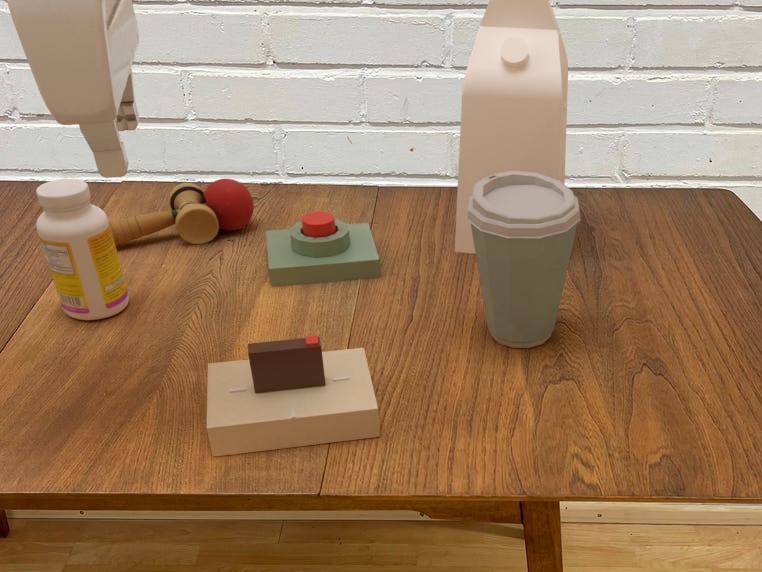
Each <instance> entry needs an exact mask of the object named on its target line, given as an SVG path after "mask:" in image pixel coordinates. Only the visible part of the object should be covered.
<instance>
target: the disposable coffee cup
mask: <svg viewBox="0 0 762 572" xmlns="http://www.w3.org/2000/svg"><path fill="white" fill-rule="evenodd" d="M466 220H468V221H469V222H470V223H471V229H472V235H473V241H474V247H475V253H474V254H475V258H476V265H477V271H478V277H479V283H480V289H481V295H482V302H483V308H484V313H485V319H486V326H487V331H489V332H490V336H491V338H492V339H493V340H495V341H496V342H497V343H498V344H499V345H503V346H507V347H508V348H512V349H530V348H533V347H538V346H540V345H543V344H545V343H546V342H547V341H548V340H549V339H550V338H551V337H552V333H553V332H555V328H556V324H557V320H558V319H557V318H558V314H559V309H560V305H561V300H562V296H563V291H564V287H565V282H566V277H567V272H568V268H569V264H570V259H571V256H572V255H571V254H572V250H573V246H574V241H575V237H576V232H577V228H578V223H579V222H580V221H581V213H580V205H579V198H578V197H577V196H576V195H574V191H573V190H571V188H569V187H568V186H567V185H566V184H565V183H564V184H563V183H561V182H560V181H559V180H556V179H553V178H550V177H547V176H544V175H541V174H538V173H533V172H521V171H507V172H502V173H498V174H493V175H490V176H488V177H485V178H484V179H482V180H481V181H479V182H477V183H476V184H474V189H473V195H472V196H470V197H469V203H468V208H467V217H466Z"/></svg>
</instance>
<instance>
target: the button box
mask: <svg viewBox="0 0 762 572" xmlns="http://www.w3.org/2000/svg"><path fill="white" fill-rule="evenodd" d="M335 229H336V233H335V234H333V235H330V236H327V237H319V238H314V237H307V236H305V235H304V234H303V226H302V220H300V221H297V222H296V223H294V224H293V225H292V226H291V227H290V228H283V229H271V230H265V242H266V244H265V245H266V254H267V263H268V264H267V266H268V273H269V279H270V280H269V281H270V286H271V288H273V287H274V288H275V287H287V286H297V285H308V284H318V283H319V284H321V283H329V282H341V281H342V282H343V281H352V280H353V281H354V280H363V279H365V280H366V279H376V278H377V279H378V278H381V263H380V261H381V260H380V257H379V253H378V250H377V247H376V244H375V243H376V242H375V240H374V237H373V234H372V230H371V226H370V224H369V222H361V223H360V222H359V223H346V222H344V221H342V220H341V219H337V218H335Z"/></svg>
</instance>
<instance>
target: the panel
mask: <svg viewBox="0 0 762 572" xmlns="http://www.w3.org/2000/svg"><path fill="white" fill-rule="evenodd" d="M322 357H323V366H324V375H325V383H326V385H325V386H316V387H307V388H298V389H289V390H280V391H270V392H261V393H255V390H254V384H253V379H252V373H251V367H250V362H249V358H248V359H239V360H229V361H221V362H210V363H207V383H206V384H207V386H206V387H207V389H206V425H205V426H206V433H207V437H208V443H209V446H210V450H211V455H212V457H213V458H216V457H223V456H232V455H233V456H234V455H240V454H248V453H257V452H267V451H273V450H281V449H290V448H297V447H298V448H299V447H308V446H316V445H323V444H332V443H340V442H347V441H348V442H349V441H357V440H365V439H372V438H373V439H375V438H380V437H381V427H380V416H379V415H380V414H379V405H378V401H377V398H376V393H375V388H374V384H373V380H372V376H371V372H370V368H369V362H368V357H367V354H366V350H365V347H356V348H347V349H338V350H337V349H336V350H328V351H322Z"/></svg>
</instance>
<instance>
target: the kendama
mask: <svg viewBox="0 0 762 572" xmlns="http://www.w3.org/2000/svg"><path fill="white" fill-rule="evenodd" d="M168 202H169V207H170V210H163V211H157V212H150V213H144V214H139V215H135V216H130V217H126V218H120V219H115V220H111V221H109V224H110V228H111V232H112V236H113V239H114V243H115V246H116V247H118V246H119V245H123V244H126V243H128V242H131V241H134V240H138V239H140V238H142V237H147V236H149V235H152V234H155V233H157V232H160V231H163V230H165V229H167V228H169V227H172V226H174V225H175V227H176V230H177V233H178V234H179V237H180V238H181V239H182V240H183V241H185V242H187V243H189V244H191V245H204V244H207V243H209V242H211V241H213V240H214V239H215V237H216V236H217V235H218V232H219V230H222V231H228V232H230V231H238V230H240V229H242V228H244V227H245V226H247V225H248V224H249V222H250V221H251V220H252V217H253V214H254V205H255V204H254V200H253V197H252V194H251V192H250V190H248V188H247V187H246V186H245V185H244V184H243V183H241V182H239V181H238V180H235V179H232V178H220V179H216V180H214V181H213V182H211V183H209V185H207V187H206V188H205V190H203V189H202V187H200V186H199V185H197V184H195V183H193V182H182V183H179V184H177V185H175V186H174V187H173V188H172V189H171V191H170V193H169V196H168Z"/></svg>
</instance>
